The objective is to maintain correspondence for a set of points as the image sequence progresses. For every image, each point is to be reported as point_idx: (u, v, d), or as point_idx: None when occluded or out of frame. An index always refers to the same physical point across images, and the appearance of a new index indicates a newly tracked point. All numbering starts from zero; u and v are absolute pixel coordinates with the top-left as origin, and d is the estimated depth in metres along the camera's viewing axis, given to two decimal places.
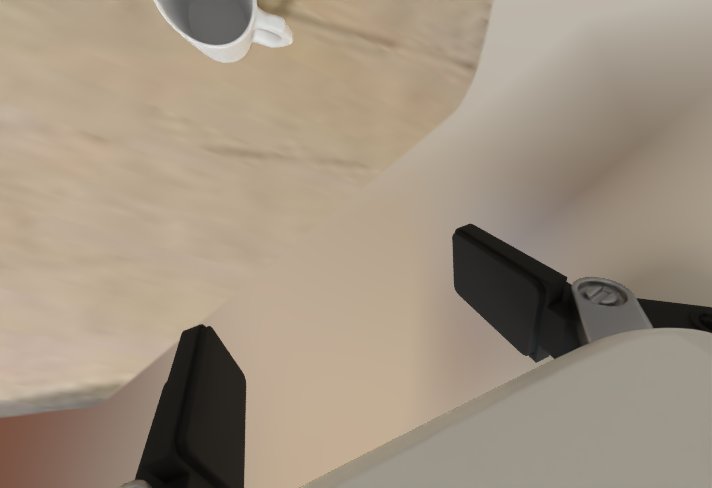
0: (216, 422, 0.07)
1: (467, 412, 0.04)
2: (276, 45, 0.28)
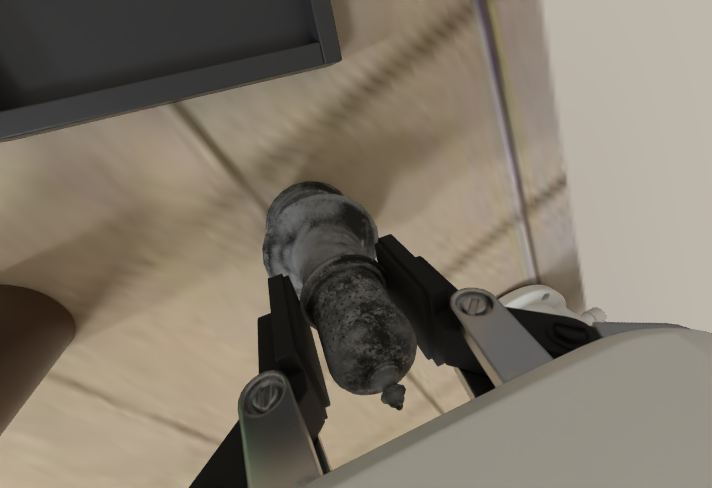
0: (308, 345, 0.09)
1: (467, 412, 0.04)
2: None
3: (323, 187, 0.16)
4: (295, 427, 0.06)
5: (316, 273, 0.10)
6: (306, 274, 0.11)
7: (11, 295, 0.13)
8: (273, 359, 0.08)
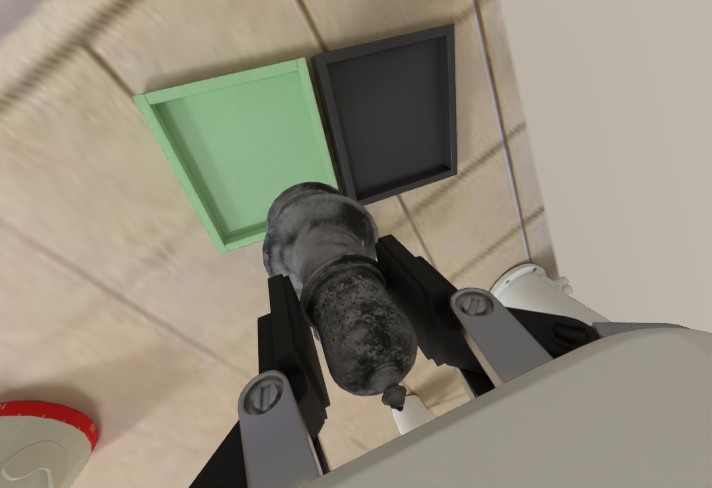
0: (308, 345, 0.09)
1: (467, 412, 0.04)
2: None
3: (323, 187, 0.16)
4: (295, 427, 0.06)
5: (316, 273, 0.10)
6: (306, 275, 0.11)
7: None
8: (273, 359, 0.08)
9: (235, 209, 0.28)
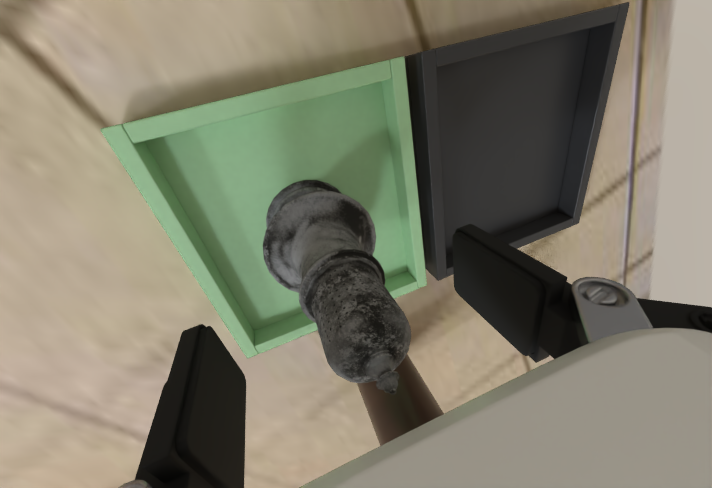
0: (216, 422, 0.07)
1: (467, 412, 0.04)
2: None
3: (322, 185, 0.16)
4: None
5: (314, 267, 0.10)
6: (305, 269, 0.11)
7: None
8: None
9: (271, 290, 0.19)
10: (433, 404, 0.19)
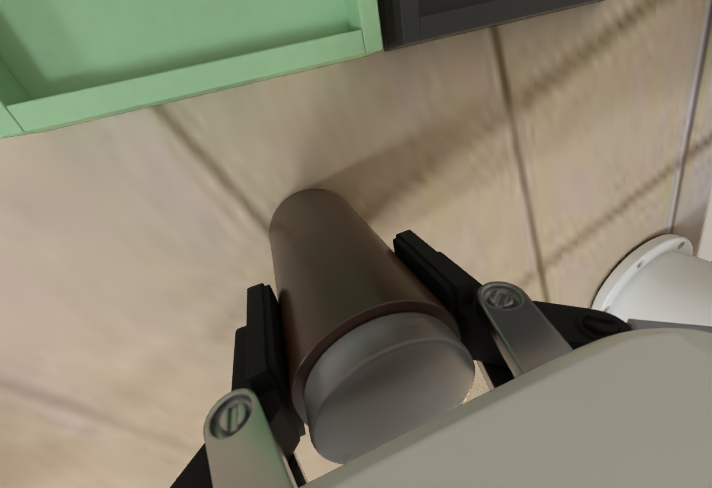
0: None
1: (467, 412, 0.04)
2: None
3: None
4: (266, 444, 0.05)
5: None
6: None
7: (339, 197, 0.15)
8: None
9: None
10: (389, 250, 0.10)
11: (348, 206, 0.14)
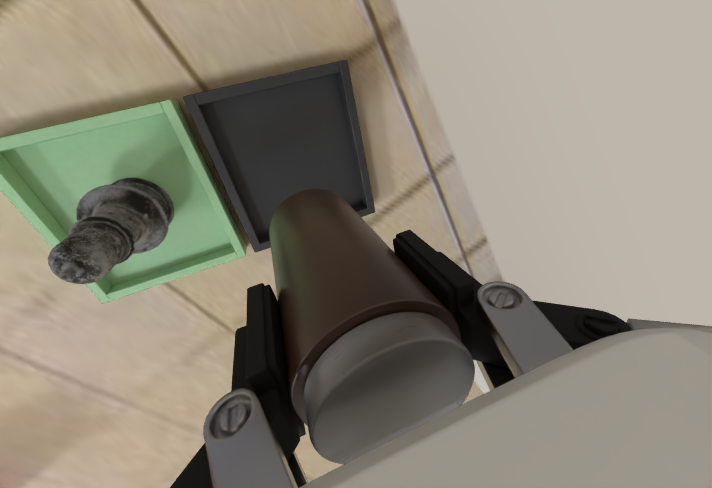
0: None
1: (467, 412, 0.04)
2: None
3: (141, 181, 0.24)
4: (266, 444, 0.05)
5: (73, 226, 0.18)
6: None
7: (339, 197, 0.15)
8: None
9: None
10: (389, 250, 0.10)
11: (348, 206, 0.14)
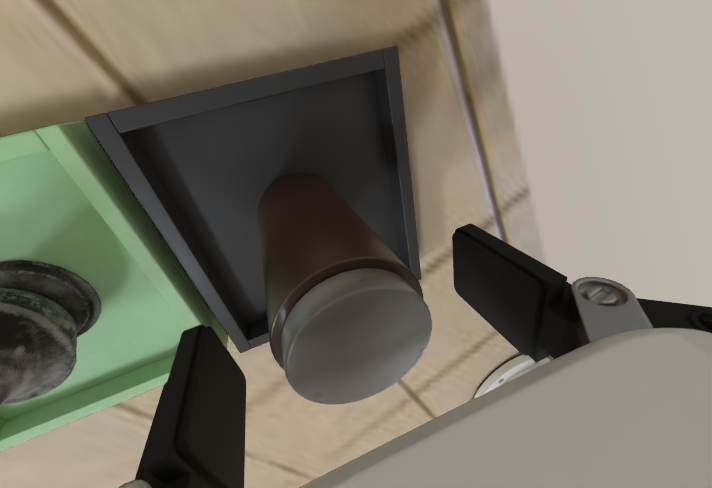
0: (216, 422, 0.07)
1: (467, 412, 0.04)
2: None
3: (29, 266, 0.13)
4: None
5: None
6: None
7: (323, 180, 0.16)
8: None
9: None
10: (364, 223, 0.11)
11: (331, 188, 0.15)
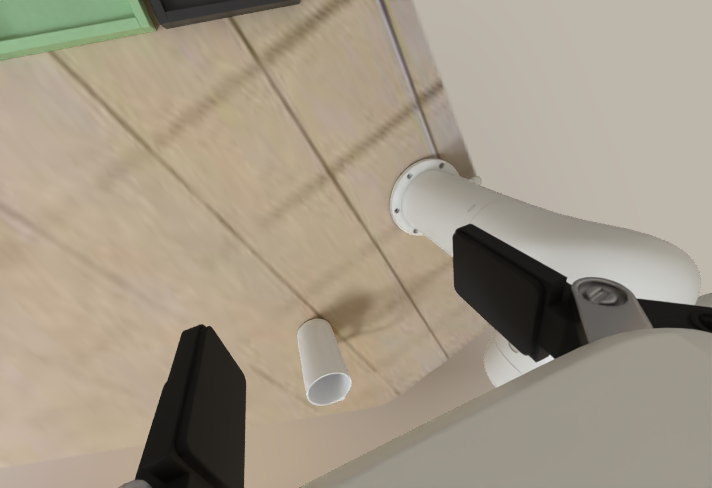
0: (216, 422, 0.07)
1: (467, 412, 0.04)
2: None
3: None
4: None
5: None
6: None
7: None
8: None
9: None
10: None
11: None
